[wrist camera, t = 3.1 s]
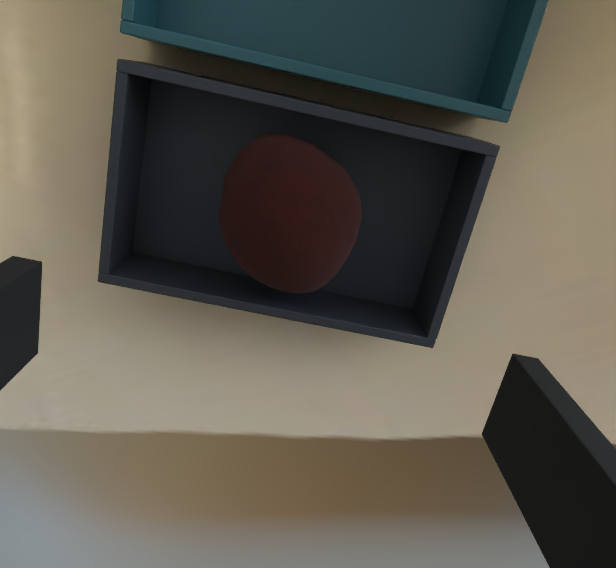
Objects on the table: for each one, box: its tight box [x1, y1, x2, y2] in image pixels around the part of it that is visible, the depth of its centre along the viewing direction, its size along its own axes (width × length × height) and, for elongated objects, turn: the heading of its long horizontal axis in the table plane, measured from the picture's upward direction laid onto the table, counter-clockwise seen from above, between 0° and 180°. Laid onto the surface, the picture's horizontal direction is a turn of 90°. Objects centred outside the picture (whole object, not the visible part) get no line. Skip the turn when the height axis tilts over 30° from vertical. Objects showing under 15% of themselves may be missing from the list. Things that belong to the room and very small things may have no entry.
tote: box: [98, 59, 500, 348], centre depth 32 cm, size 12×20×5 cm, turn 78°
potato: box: [218, 133, 362, 294], centre depth 30 cm, size 8×9×8 cm
